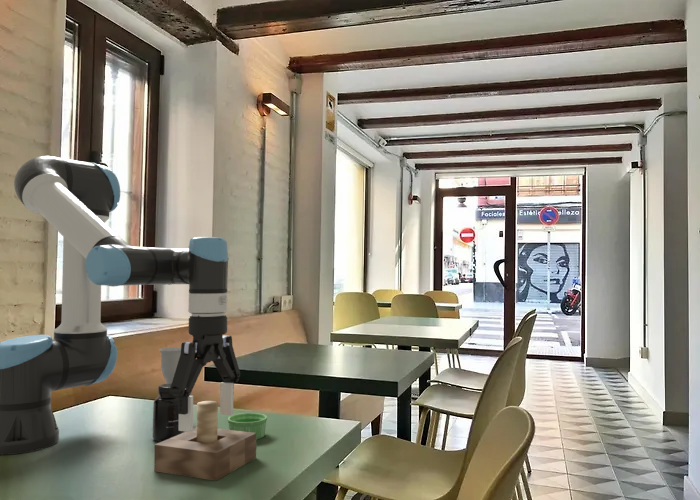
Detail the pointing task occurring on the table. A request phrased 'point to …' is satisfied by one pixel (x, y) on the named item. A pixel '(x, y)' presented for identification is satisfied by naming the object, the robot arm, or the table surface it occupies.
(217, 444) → the socket block
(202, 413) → the peg
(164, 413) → the supplement bottle
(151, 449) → the table surface
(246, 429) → the ramekin
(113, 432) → the table surface
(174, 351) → the chalice
